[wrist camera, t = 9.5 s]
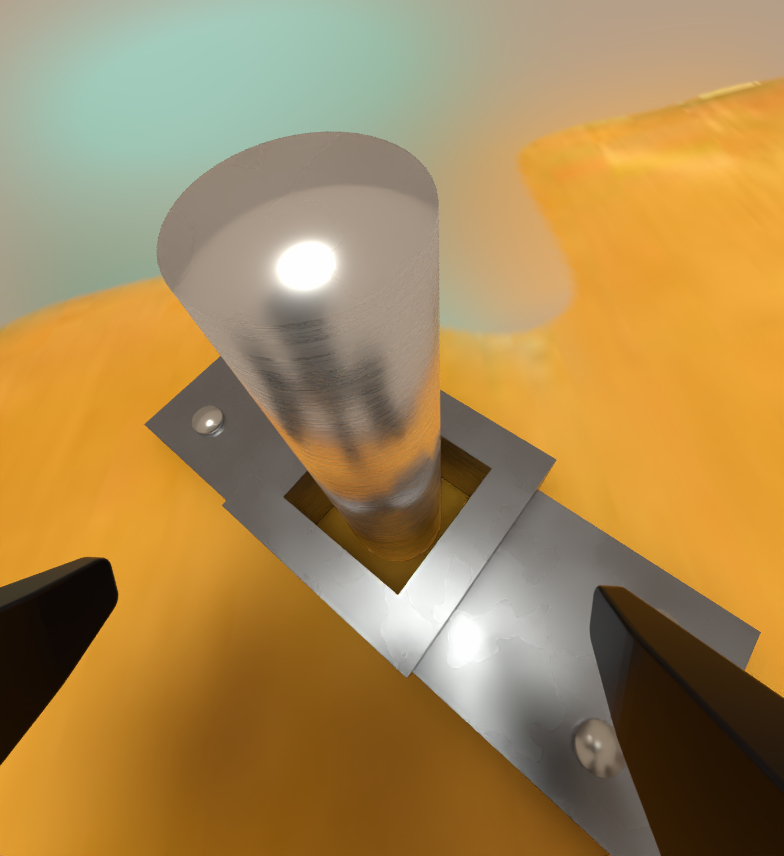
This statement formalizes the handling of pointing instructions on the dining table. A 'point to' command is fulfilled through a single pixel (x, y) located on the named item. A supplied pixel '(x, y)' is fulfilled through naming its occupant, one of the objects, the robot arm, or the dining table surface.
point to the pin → (327, 315)
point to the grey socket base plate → (467, 592)
